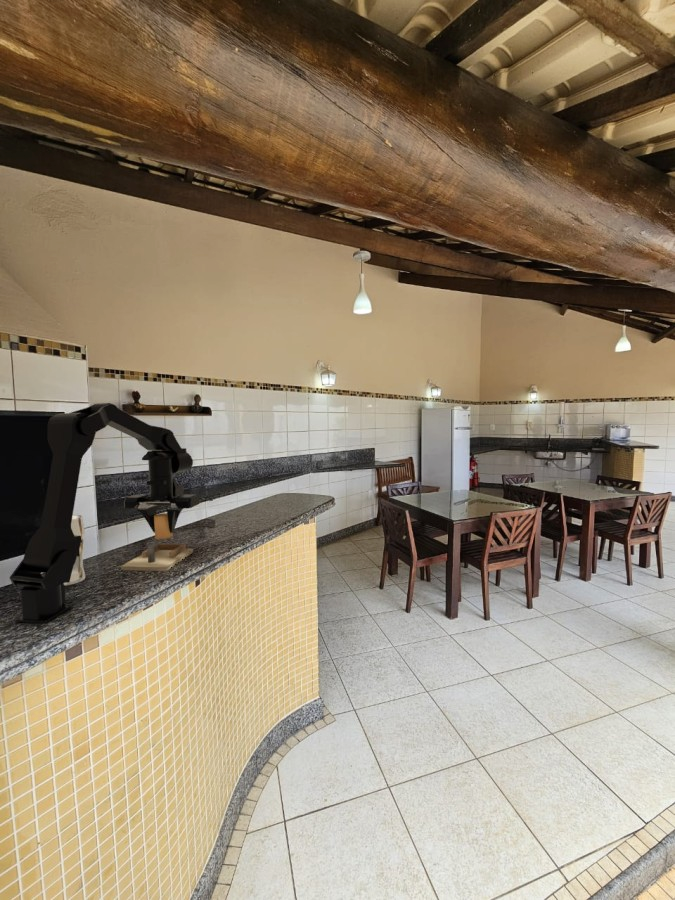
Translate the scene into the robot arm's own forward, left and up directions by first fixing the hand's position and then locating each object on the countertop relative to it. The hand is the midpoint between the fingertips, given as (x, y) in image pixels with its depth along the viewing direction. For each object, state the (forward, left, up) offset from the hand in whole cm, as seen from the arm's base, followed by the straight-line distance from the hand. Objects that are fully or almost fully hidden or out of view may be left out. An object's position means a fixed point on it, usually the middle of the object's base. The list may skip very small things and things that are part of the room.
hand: (163, 532), depth 108 cm
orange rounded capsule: (0, 0, -1) cm, 1 cm away
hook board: (-3, 0, -7) cm, 7 cm away
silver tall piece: (-17, +14, -7) cm, 23 cm away
